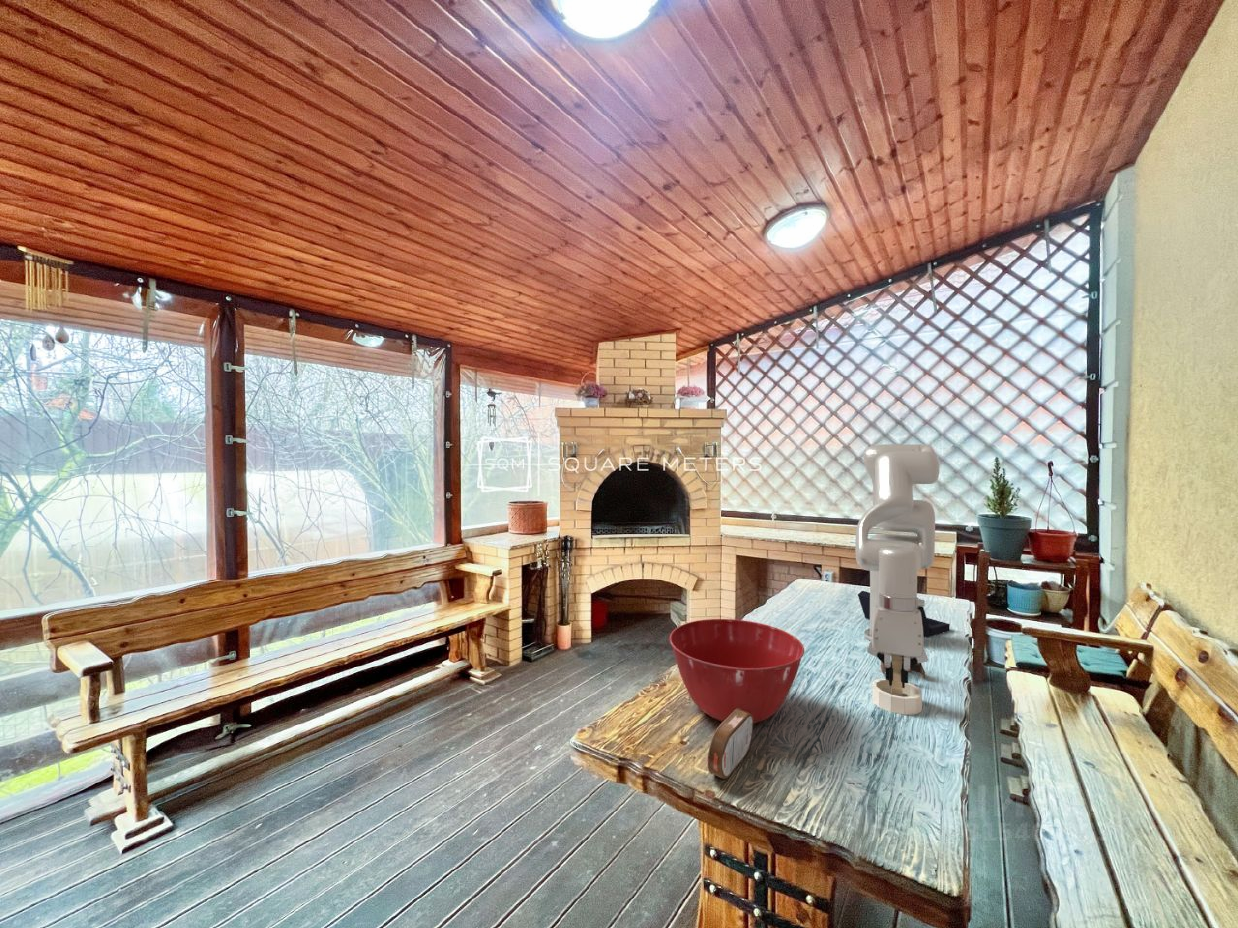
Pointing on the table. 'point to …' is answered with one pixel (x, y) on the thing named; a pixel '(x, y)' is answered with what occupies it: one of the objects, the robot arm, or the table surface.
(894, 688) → the wall mounted peg
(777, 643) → the mixing bowl
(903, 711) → the cream faceted bowl
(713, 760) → the tin
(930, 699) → the table surface
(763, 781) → the table surface
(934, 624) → the black laptop
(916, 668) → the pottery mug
